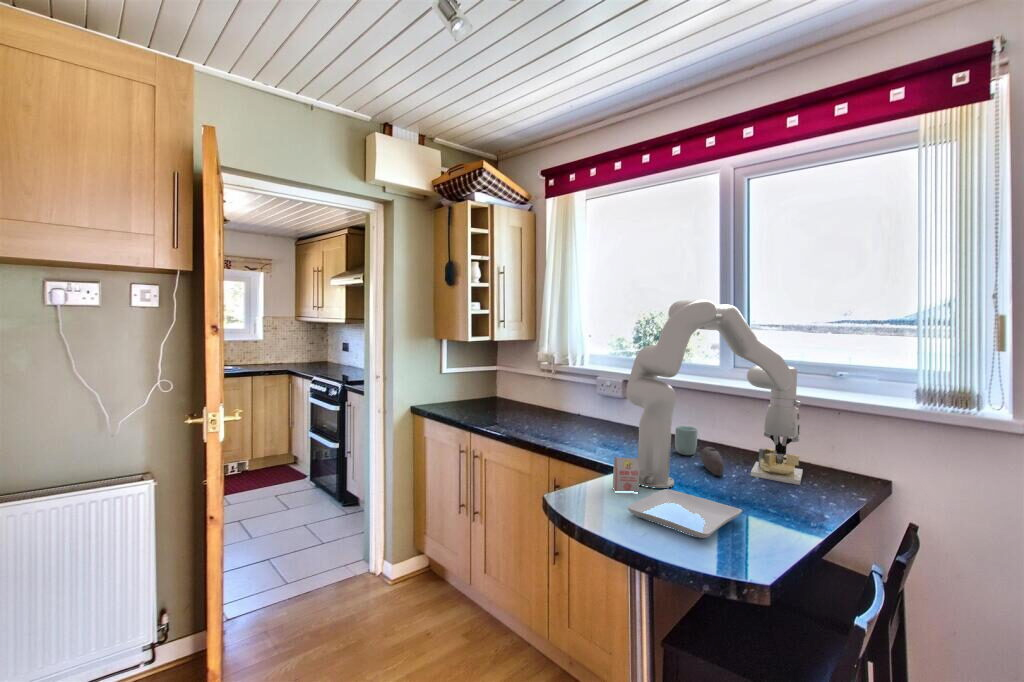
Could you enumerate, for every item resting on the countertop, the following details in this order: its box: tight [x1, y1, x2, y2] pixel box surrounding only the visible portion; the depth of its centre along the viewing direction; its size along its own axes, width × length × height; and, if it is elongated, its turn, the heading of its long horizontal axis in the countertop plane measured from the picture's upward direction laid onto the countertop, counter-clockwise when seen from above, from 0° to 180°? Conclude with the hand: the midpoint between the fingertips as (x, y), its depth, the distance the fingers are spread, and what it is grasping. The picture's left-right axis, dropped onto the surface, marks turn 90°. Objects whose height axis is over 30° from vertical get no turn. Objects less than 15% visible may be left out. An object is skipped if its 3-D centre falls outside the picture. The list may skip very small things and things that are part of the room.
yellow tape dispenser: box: [760, 447, 800, 474], centre depth 160 cm, size 11×11×6 cm
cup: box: [674, 425, 699, 457], centre depth 183 cm, size 8×8×10 cm
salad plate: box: [627, 488, 743, 539], centre depth 123 cm, size 21×21×3 cm
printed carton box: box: [612, 456, 640, 493], centre depth 141 cm, size 4×7×10 cm, turn 88°
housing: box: [750, 448, 803, 486], centre depth 161 cm, size 14×14×7 cm
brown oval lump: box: [700, 446, 725, 477], centre depth 162 cm, size 15×5×7 cm, turn 171°
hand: (780, 456), depth 165 cm, fingers closed
